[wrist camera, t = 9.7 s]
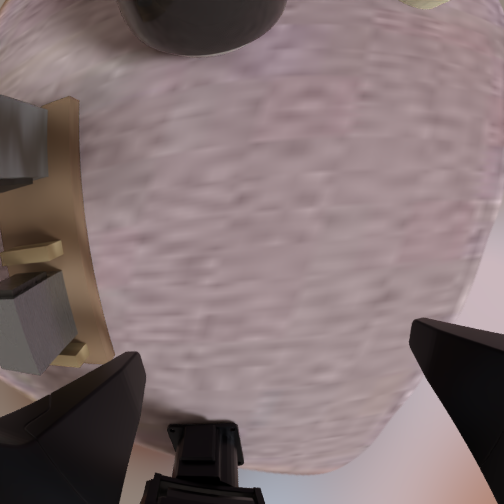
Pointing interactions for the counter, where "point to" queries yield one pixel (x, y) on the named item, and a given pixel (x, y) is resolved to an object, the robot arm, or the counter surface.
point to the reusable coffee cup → (424, 3)
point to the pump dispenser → (200, 24)
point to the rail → (50, 214)
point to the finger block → (34, 321)
